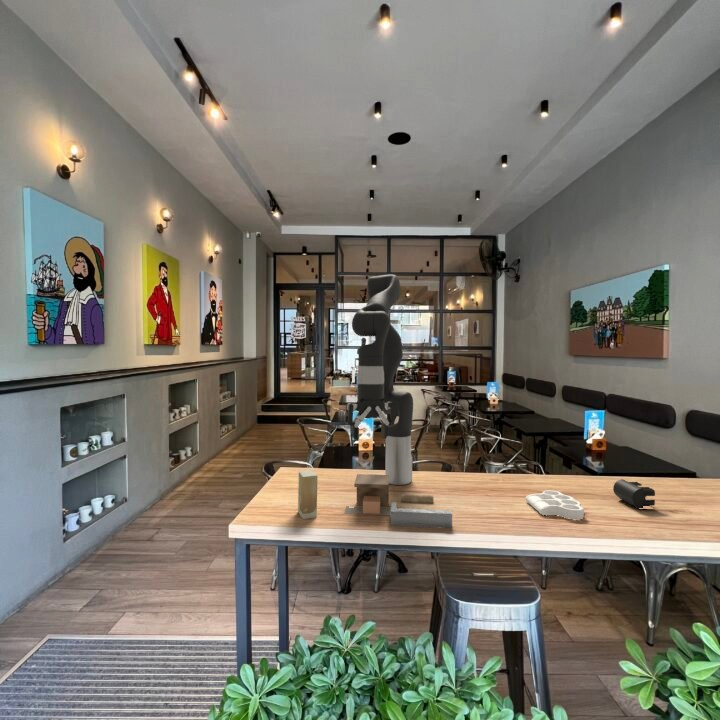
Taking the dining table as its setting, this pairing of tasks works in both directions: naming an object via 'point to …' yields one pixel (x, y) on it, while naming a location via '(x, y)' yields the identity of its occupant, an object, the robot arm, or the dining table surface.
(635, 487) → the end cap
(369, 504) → the block
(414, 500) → the dowel
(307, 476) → the skincare box
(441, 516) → the crook
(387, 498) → the brown wooden box
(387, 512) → the green flat plank
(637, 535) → the dining table surface
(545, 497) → the white segmented tray
